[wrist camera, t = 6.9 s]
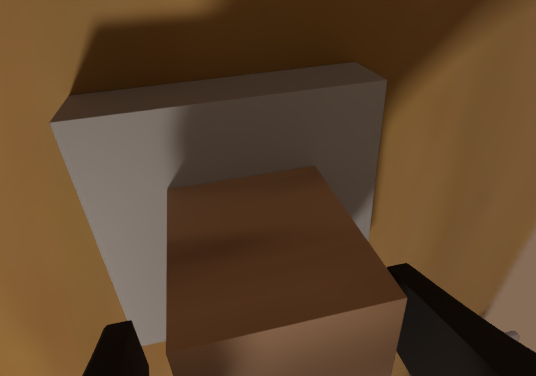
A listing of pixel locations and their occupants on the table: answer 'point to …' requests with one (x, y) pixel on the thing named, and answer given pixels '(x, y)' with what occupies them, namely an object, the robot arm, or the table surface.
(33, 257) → the table surface
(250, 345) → the walnut block
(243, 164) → the grey box
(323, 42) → the table surface
